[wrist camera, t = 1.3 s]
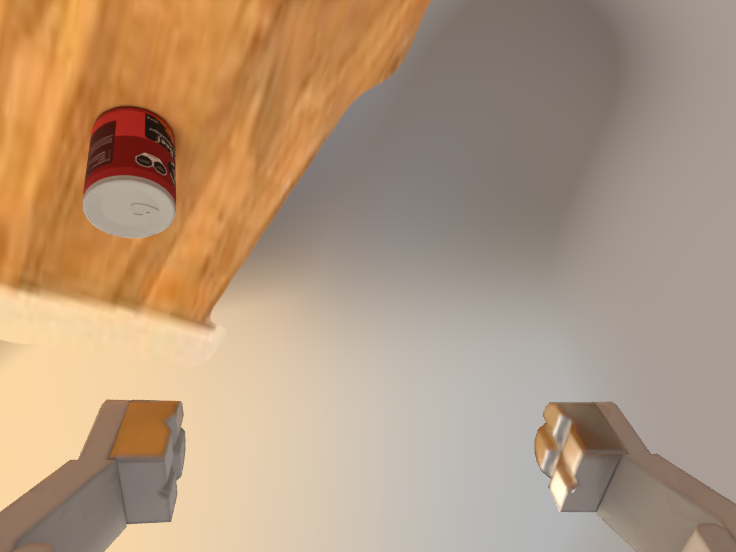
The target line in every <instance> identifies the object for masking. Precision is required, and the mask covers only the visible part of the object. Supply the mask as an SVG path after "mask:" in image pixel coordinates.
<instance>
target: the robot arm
mask: <svg viewBox="0 0 736 552" xmlns="http://www.w3.org/2000/svg"><path fill="white" fill-rule="evenodd" d="M543 417H544V419H545V421H546V423H545V424H544V425H543V426H542V427H540V428H539V429H538V430H537V434H536V437H535V456H536V460H537V463H538V465H539V467H540V470H541V471H542V472H543V473H544V474H546V475H547V476H548V477H549V478H551V481H550V484H549V489H550V491H551V493H552V495H553V498H554V500H555V502H556V504H557V506H558V508H559V511H560V512H597V513H596V514H597V515H598V516H599V517H600V518H601V519H602V520H603V521H604V522H605V523H606V524H607V525H609V527H610V528H612V529H613V530H614V531H615V532H616V533H617V534H618V535H619V536H620V537H621V538H622V539H623V540H624V541H625V542H627V543H628V544H629V545H630V546H631V547H632V548H633V549H634V550H635V551H636V552H736V504H735V503H733V502H732V501H730V500H729V499H727V498H726V497H724V496H722V495H721V494H719V493H718V492H716V491H714V490H713V489H711V488H710V487H708V486H707V485H705V484H704V483H702V482H700V481H699V480H697V479H696V478H694V477H692V476H691V475H689V474H688V473H686V472H685V471H683V470H682V469H680V468H678V467H677V466H675V465H674V464H672V463H671V462H669V461H667V460H666V459H664V458H663V457H661V456H660V455H658V454H651V453H650V452H649V450H648V449H647V448H646V446H645V445H644V443H643V442H642V440H641V439H640V437H639V436H638V435H637V433H636V432H635V430H634V429H633V427H632V426H631V425H630V423H629V422H628V420H627V419H626V418H625V416H624V415H623V414H622V412H621V411H620V409H619V408H618V406H617V405H616V404H614V403H613V402H590V403H589V402H550V403H549V404H548V405H547V406H546V407H545V410H544V413H543ZM182 420H183V407H182V402H181V401H155V400H154V401H153V400H152V401H151V400H132V401H130V400H106V401H105V402H104V403H103V404H102V405H101V408H100V410H99V412H98V415H97V417H96V419H95V422H94V424H93V426H92V429H91V431H90V433H89V436H88V438H87V440H86V442H85V445H84V447H83V449H82V452H81V454H80V456H79V459H78V460H70V461H68V462H67V463H65V464H64V465H63V466H61V467H60V468H59V469H58V470H56V471H55V472H53V473H52V474H51V475H49V476H48V477H47V478H45V479H44V480H43V481H41V482H40V483H39V484H37V485H36V486H34V487H33V488H32V489H30V490H29V491H28V492H27V493H25V494H24V495H22V496H21V497H20V498H18V499H17V500H16V501H14V502H13V503H12V504H10V505H9V506H8V507H6V508H5V509H4V510H2V511H1V512H0V552H104V551H105V550H106V549H107V548H108V547H109V546H110V545H111V544H112V542H113V541H114V540H115V539H116V538H117V537H118V536H119V535H120V534H121V532H122V531H123V530H124V529H125V528H126V527H127V526H126V524H138V523H158V522H171V519H172V515H173V511H174V506H175V502H176V497H177V485H176V480H177V479H179V478H180V477H181V475H182V470H183V464H184V457H185V431H184V430H183V429H182V428H181V424H182Z"/></svg>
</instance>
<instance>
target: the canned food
mask: <svg viewBox="0 0 736 552" xmlns="http://www.w3.org/2000/svg"><path fill="white" fill-rule="evenodd" d="M83 211H84V213H85V216H86V218H87V219H88V220H89V221H90V222H91V223H92V224H93V225H94V226H95V227H97V228H98V229H100V230H102V231H104V232H106V233H109V234H111V235H115V236H119V237H125V238H143V237H149V236H153V235H155V234H158V233H160V232H162V231H164V230H165V229H166V228H168V227H169V226H170V225H171V223H172V222H173V220H174V217H175V212H176V176H175V140H174V137H173V134H172V132H171V131H170V129H169V127H168V125H167V124H166V123H165V122H164V121H163V120H162V119H161V118H159V117H158V116H157V115H155V114H153V113H151V112H149V111H146V110H143V109H139V108H132V107H123V108H117V109H113V110H110V111H108V112H106V113H105V114H103V115H102V116H101V117H100V118H99V119H98V120H97V122H96V123H95V124H94V127H93V129H92V133H91V140H90V148H89V155H88V162H87V170H86V177H85V184H84V192H83Z"/></svg>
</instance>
